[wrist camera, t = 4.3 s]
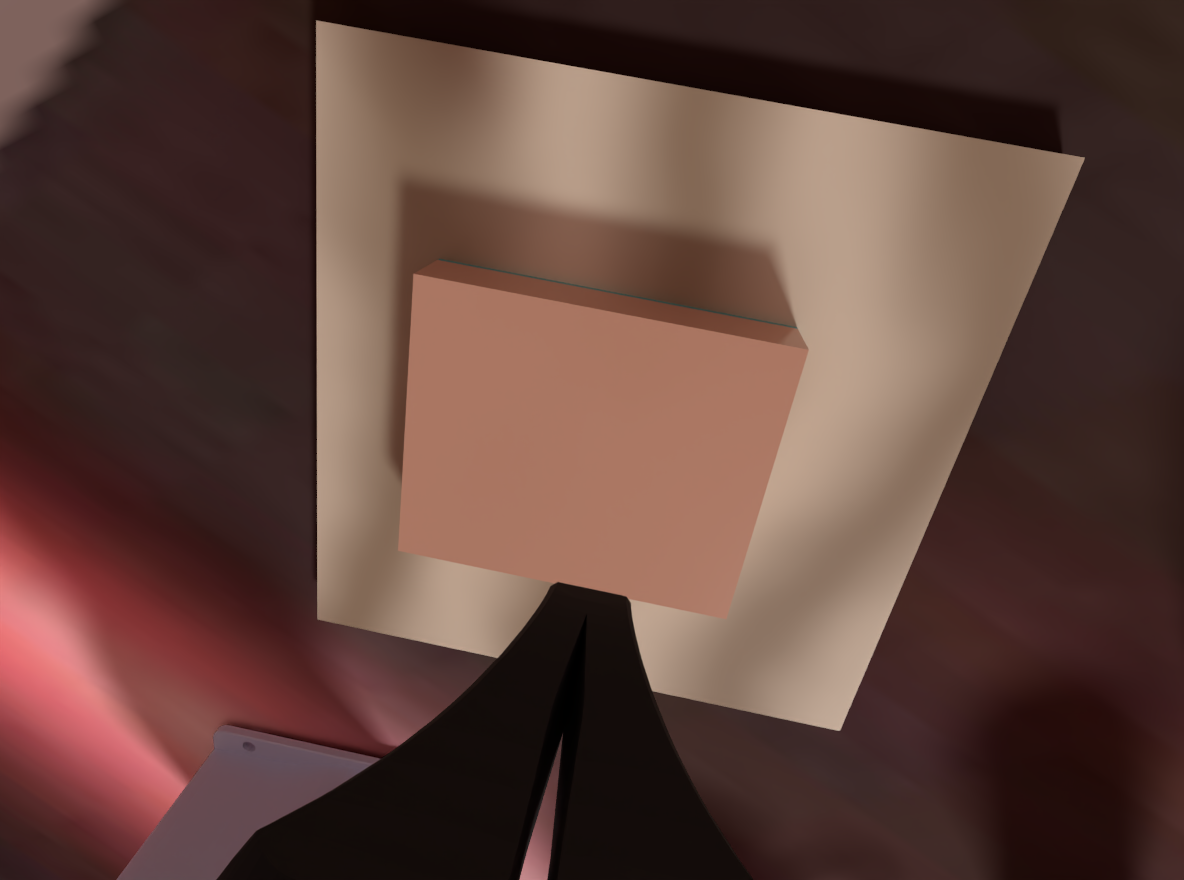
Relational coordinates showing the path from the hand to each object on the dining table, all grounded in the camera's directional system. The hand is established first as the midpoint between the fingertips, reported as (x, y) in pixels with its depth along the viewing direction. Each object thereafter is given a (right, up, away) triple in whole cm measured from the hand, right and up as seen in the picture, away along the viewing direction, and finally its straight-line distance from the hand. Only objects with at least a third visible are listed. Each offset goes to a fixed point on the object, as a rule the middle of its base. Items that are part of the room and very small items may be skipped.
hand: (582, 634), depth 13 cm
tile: (+5, +2, +7) cm, 9 cm away
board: (+1, +4, +9) cm, 10 cm away
